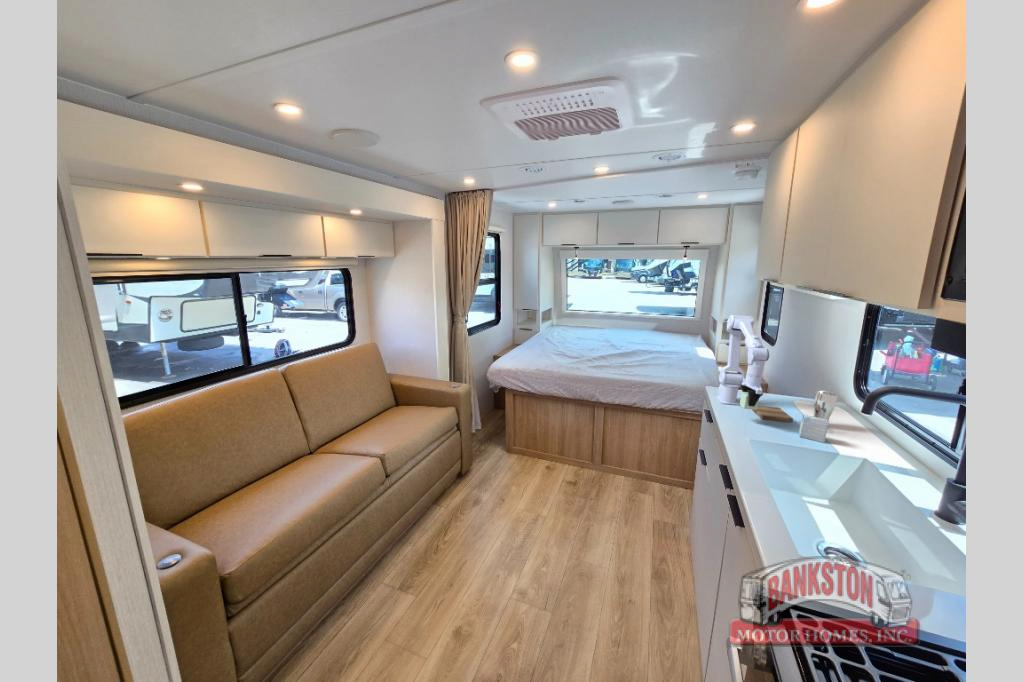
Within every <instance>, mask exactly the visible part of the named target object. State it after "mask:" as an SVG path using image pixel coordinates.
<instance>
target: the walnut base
mask: <svg viewBox="0 0 1023 682" xmlns="http://www.w3.org/2000/svg"><path fill="white" fill-rule="evenodd" d="M750 410H751V411H752V412H753V413H754V414H755V415H757V416H758V417H759V418H760V419H761V420H763V421H772V422H779V423H780V422H781V423H789V422H790V423H792V424H793V421H794V418H793V417H792V416H791V415H790V414H788V413H787V412H786V411H785V410H783V409H782V408H780V407H774V406H763V405H758V407H757V410H753V409H750Z"/></svg>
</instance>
